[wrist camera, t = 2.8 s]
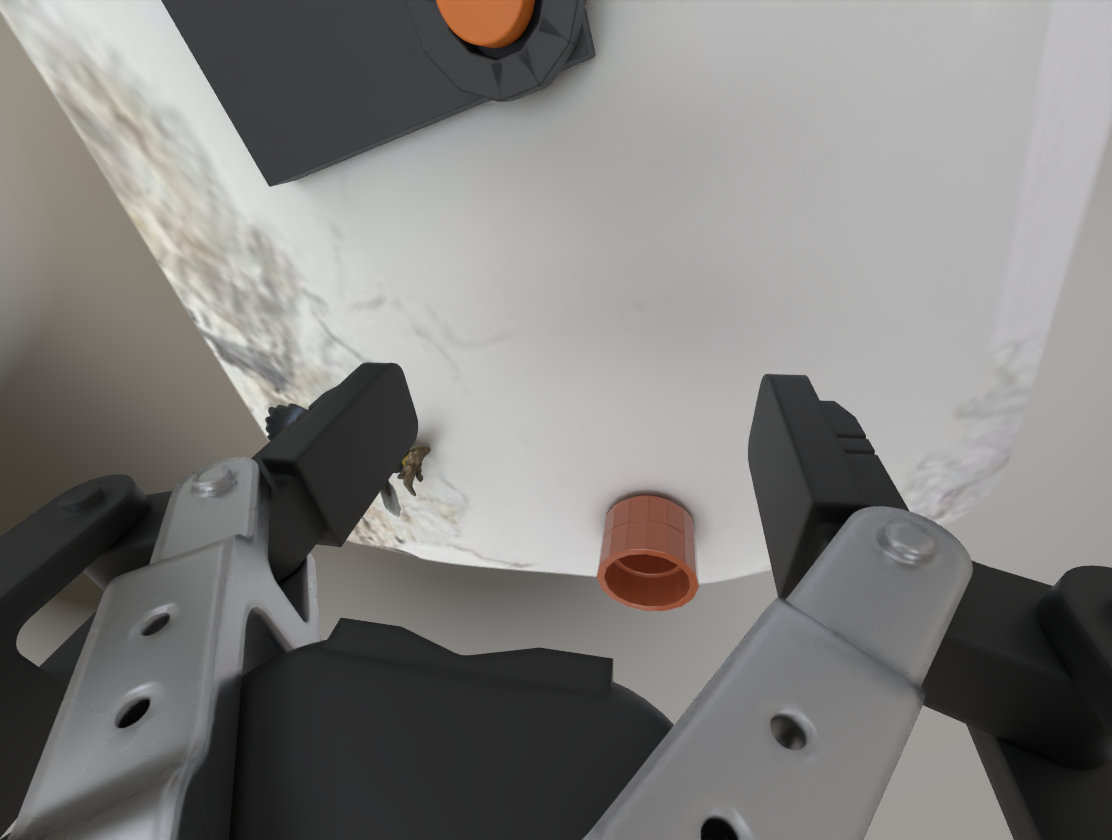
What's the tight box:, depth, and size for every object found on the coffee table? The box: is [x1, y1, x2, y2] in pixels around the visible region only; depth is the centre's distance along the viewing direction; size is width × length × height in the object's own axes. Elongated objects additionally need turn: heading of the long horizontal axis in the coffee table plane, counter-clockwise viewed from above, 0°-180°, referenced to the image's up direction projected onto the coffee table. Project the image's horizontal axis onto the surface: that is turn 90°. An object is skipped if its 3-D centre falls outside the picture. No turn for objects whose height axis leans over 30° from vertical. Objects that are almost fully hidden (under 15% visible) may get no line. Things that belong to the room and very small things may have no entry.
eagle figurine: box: [265, 404, 430, 517], centre depth 30 cm, size 8×7×9 cm
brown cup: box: [597, 495, 699, 611], centre depth 31 cm, size 6×6×5 cm
